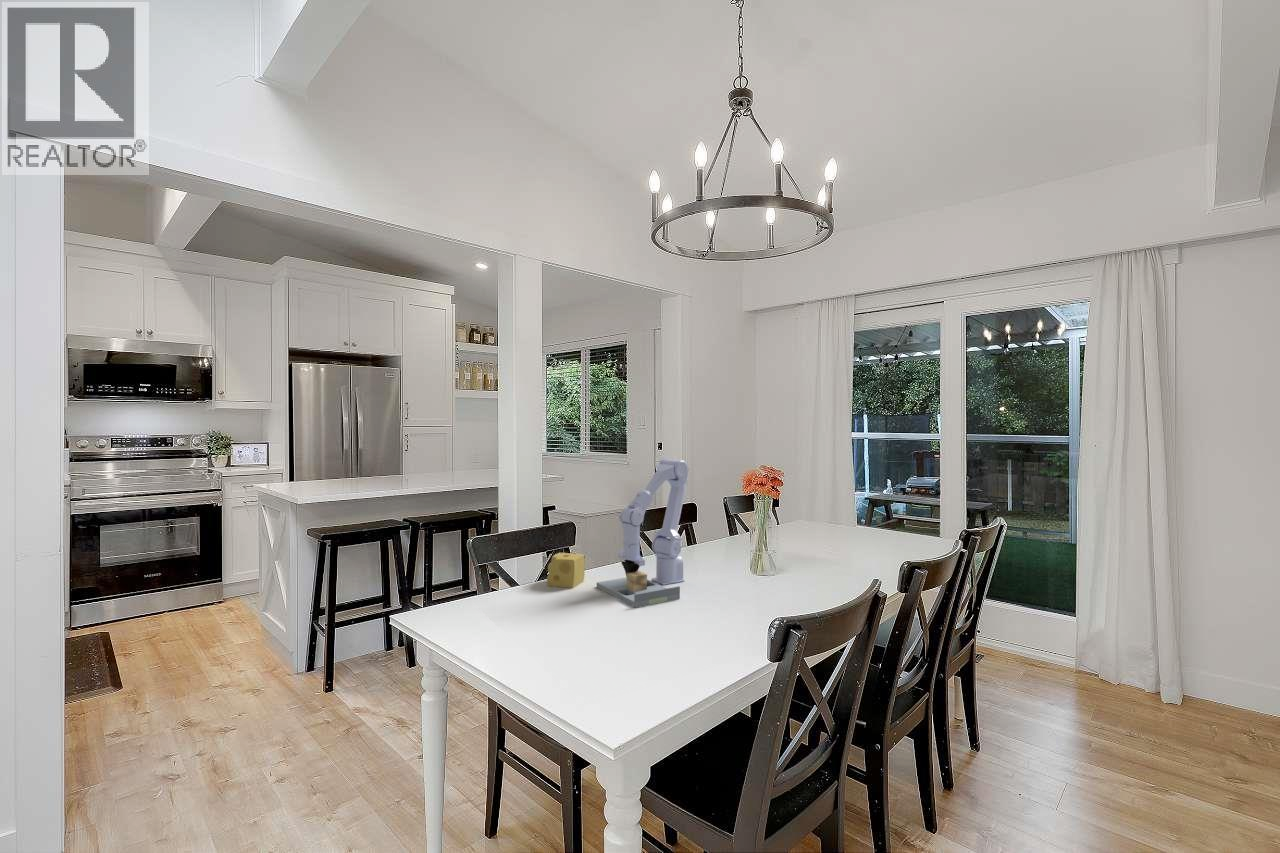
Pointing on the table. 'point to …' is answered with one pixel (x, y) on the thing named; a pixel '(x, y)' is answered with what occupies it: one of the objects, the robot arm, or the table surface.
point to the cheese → (566, 570)
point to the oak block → (636, 581)
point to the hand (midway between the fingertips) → (631, 582)
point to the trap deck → (639, 592)
